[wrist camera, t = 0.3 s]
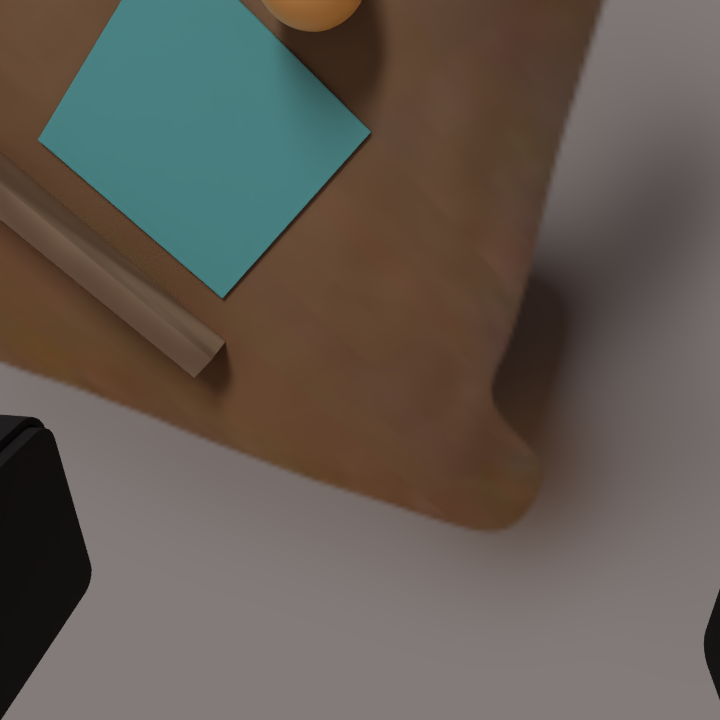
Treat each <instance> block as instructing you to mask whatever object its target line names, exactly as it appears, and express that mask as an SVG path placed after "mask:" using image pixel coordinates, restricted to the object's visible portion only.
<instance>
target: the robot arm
mask: <svg viewBox="0 0 720 720" xmlns="http://www.w3.org/2000/svg"><path fill="white" fill-rule="evenodd" d="M91 571H92V569H91V563H90V560H89V556H88V553H87V550H86V546H85V542H84V539H83V535H82V532H81V528H80V525H79V521H78V518H77V515H76V511H75V508H74V504H73V501H72V497H71V493H70V490H69V486H68V483H67V479H66V476H65V472H64V469H63V465H62V462H61V458H60V455H59V451H58V448H57V444H56V441H55V438H54V435H53V433H52V432H51V431H50V430H49V429H46V428H45V427H44V425H43V423H42V422H41V421H40V420H39V419H37V418H34V417H24V416H11V415H0V720H1V719H2V717H3V716H4V714H5V713H6V711H7V710H8V708H9V707H10V705H11V704H12V702H13V701H14V699H15V698H16V696H17V695H18V693H19V692H20V690H21V689H22V687H23V686H24V684H25V682H26V681H27V680H28V678H29V677H30V675H31V674H32V672H33V671H34V669H35V668H36V666H37V665H38V663H39V662H40V660H41V659H42V657H43V656H44V654H45V653H46V651H47V650H48V648H49V647H50V645H51V643H52V642H53V641H54V639H55V638H56V636H57V635H58V633H59V632H60V630H61V629H62V627H63V626H64V624H65V622H66V621H67V619H68V618H69V617H70V615H71V614H72V612H73V610H74V609H75V608H76V606H77V605H78V603H79V601H80V600H81V598H82V597H83V595H84V594H85V592H86V590H87V589H88V586H89V583H90V579H91ZM704 652H705V658H706V662H707V665H708V668H709V671H710V674H711V676H712V679H713V682H714V685H715V688H716V690H717V693H718V696H719V699H720V590H719V593H718V596H717V599H716V602H715V605H714V608H713V611H712V614H711V617H710V619H709V623H708V625H707V628H706V632H705V636H704Z"/></svg>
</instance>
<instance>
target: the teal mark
mask: <svg viewBox="0 0 720 720" xmlns="http://www.w3.org/2000/svg"><path fill="white" fill-rule="evenodd" d="M370 132H371V131H370V130H369V129H368V128H367V127H366V126H365V125H364V124H363V123H362V122H361V121H360V120H359V119H358V118H357V117H356V116H355V115H354V114H353V113H352V112H351V111H350V110H349V109H348V108H347V107H346V106H345V105H344V104H343V103H342V102H341V101H340V100H339V99H338V98H337V97H336V96H335V95H334V94H333V93H332V92H331V91H330V90H329V89H328V88H327V87H326V86H325V85H324V84H323V83H322V82H321V81H320V80H319V79H318V78H317V77H316V76H315V75H314V74H313V73H312V72H311V71H310V70H309V69H308V68H307V67H306V66H305V65H304V64H303V63H302V62H301V61H300V60H299V59H298V58H297V57H296V56H295V55H294V54H293V53H292V52H291V51H290V50H289V49H288V48H287V47H286V46H285V45H284V44H283V43H282V42H281V41H280V40H279V39H278V38H277V37H276V36H275V35H274V34H273V33H272V32H271V31H270V30H269V29H268V28H267V27H266V26H265V25H264V24H263V23H262V22H261V21H260V20H259V19H258V18H257V17H256V16H255V15H254V14H253V13H252V12H251V11H250V10H249V9H248V8H247V7H246V6H245V5H244V4H243V3H242V2H241V1H240V0H122V1H121V2H120V4H119V6H118V7H117V9H116V11H115V12H114V14H113V16H112V17H111V19H110V21H109V22H108V24H107V26H106V27H105V29H104V31H103V32H102V34H101V36H100V37H99V39H98V41H97V42H96V44H95V46H94V47H93V49H92V51H91V52H90V54H89V56H88V57H87V59H86V61H85V62H84V64H83V66H82V67H81V69H80V71H79V72H78V74H77V76H76V77H75V79H74V81H73V82H72V84H71V86H70V87H69V89H68V91H67V92H66V94H65V96H64V97H63V99H62V101H61V102H60V104H59V106H58V107H57V109H56V111H55V112H54V114H53V116H52V117H51V119H50V121H49V122H48V124H47V126H46V127H45V129H44V131H43V132H42V134H41V136H40V137H39V139H38V140H39V141H40V142H41V143H42V144H44V145H45V146H46V147H47V148H48V149H49V150H51V151H52V152H53V153H54V154H55V155H56V156H57V157H59V158H60V159H61V160H62V161H63V162H64V163H66V164H67V165H68V166H69V167H70V168H71V169H73V170H74V171H75V172H76V173H77V174H78V175H80V176H81V177H82V178H83V179H84V180H85V181H87V182H88V183H89V184H90V185H91V186H92V187H94V188H95V189H96V190H97V191H98V192H99V193H100V194H102V195H103V196H104V197H105V198H106V199H107V200H109V201H110V202H111V203H112V204H113V205H114V206H116V207H117V208H118V209H119V210H120V211H121V212H123V213H124V214H125V215H126V216H127V217H128V218H130V219H131V220H132V221H133V222H134V223H135V224H137V225H138V226H139V227H140V228H141V229H142V230H144V231H145V232H146V233H147V234H148V235H149V236H150V237H152V238H153V239H154V240H155V241H156V242H157V243H159V244H160V245H161V246H162V247H163V248H164V249H166V250H167V251H168V252H169V253H170V254H171V255H173V256H174V257H175V258H176V259H177V260H178V261H180V262H181V263H182V264H183V265H184V266H185V267H187V268H188V269H189V270H190V271H191V272H192V273H193V274H195V275H196V276H197V277H198V278H199V279H200V280H202V281H203V282H204V283H205V284H206V285H207V286H209V287H210V288H211V289H212V290H213V291H214V292H216V293H217V294H218V295H219V296H220V297H221V298H223V297H224V296H225V295H226V294H227V293H228V292H229V290H230V289H231V288H232V287H233V286H234V285H235V284H236V283H237V281H238V280H239V279H240V278H241V277H242V276H243V275H244V274H245V272H246V271H247V270H248V269H249V268H250V267H251V266H252V265H253V263H254V262H255V261H256V260H257V259H258V258H259V257H260V256H261V255H262V253H263V252H264V251H265V250H266V249H267V248H268V247H269V246H270V244H271V243H272V242H273V241H274V240H275V239H276V238H277V237H278V235H279V234H280V233H281V232H282V231H283V230H284V229H285V228H286V227H287V225H288V224H289V223H290V222H291V221H292V220H293V219H294V218H295V216H296V215H297V214H298V213H299V212H300V211H301V210H302V209H303V207H304V206H305V205H306V204H307V203H308V202H309V201H310V200H311V198H312V197H313V196H314V195H315V194H316V193H317V192H318V191H319V190H320V188H321V187H322V186H323V185H324V184H325V183H326V182H327V181H328V179H329V178H330V177H331V176H332V175H333V174H334V173H335V172H336V170H337V169H338V168H339V167H340V166H341V165H342V164H343V163H344V161H345V160H346V159H347V158H348V157H349V156H350V155H351V154H352V153H353V151H354V150H355V149H356V148H357V147H358V146H359V145H360V144H361V142H362V141H363V140H364V139H365V138H366V137H367V136H368V135H369V133H370Z"/></svg>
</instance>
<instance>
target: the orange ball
mask: <svg viewBox="0 0 720 720" xmlns="http://www.w3.org/2000/svg"><path fill="white" fill-rule="evenodd" d="M361 1H362V0H262V2H263V3H264V5H265V6H266V8H267V9H268V10H269V11H270V12H271V13H272V14H273V15H274V16H275V17H276V18H277V19H278V20H280V21H281V22H283V23H284V24H286V25H288V26H290V27H292V28H294V29H297V30H301V31H307V32H319V31H325V30H328V29H331V28H333V27H336V26H338V25H339V24H341V23H342V22H344V21H345V20H346V19H348V18H349V17H350V16H351V15H352V14H353V13H354V12H355V10H356V9H357V8H358V6H359V5H360V3H361Z"/></svg>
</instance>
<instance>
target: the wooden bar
mask: <svg viewBox="0 0 720 720" xmlns="http://www.w3.org/2000/svg"><path fill="white" fill-rule="evenodd" d="M0 220H1V221H3V222H4V223H5V224H6V225H7V226H9V227H10V228H11V229H12V230H14V231H15V232H16V233H17V234H18V235H20V236H21V237H22V238H23V239H25V240H26V241H27V242H28V243H30V244H31V245H32V246H33V247H34V248H36V249H37V250H38V251H39V252H41V253H42V254H43V255H44V256H45V257H47V258H48V259H49V260H50V261H52V262H53V263H54V264H55V265H57V266H58V267H59V268H60V269H61V270H63V271H64V272H65V273H66V274H68V275H69V276H70V277H71V278H72V279H74V280H75V281H76V282H77V283H79V284H80V285H81V286H82V287H83V288H85V289H86V290H87V291H88V292H90V293H91V294H92V295H93V296H95V297H96V298H97V299H98V300H99V301H101V302H102V303H103V304H104V305H106V306H107V307H108V308H109V309H110V310H112V311H113V312H114V313H115V314H117V315H118V316H119V317H120V318H121V319H123V320H124V321H125V322H126V323H128V324H129V325H130V326H131V327H133V328H134V329H135V330H136V331H137V332H139V333H140V334H141V335H142V336H144V337H145V338H146V339H147V340H148V341H150V342H151V343H152V344H153V345H155V346H156V347H157V348H158V349H159V350H161V351H162V352H163V353H164V354H166V355H167V356H168V357H169V358H171V359H172V360H173V361H174V362H175V363H177V364H178V365H179V366H180V367H182V368H183V369H184V370H185V371H186V372H188V373H189V374H190V375H191V376H193V377H194V378H195V377H196V376H197V375H198V374H199V373H200V371H201V370H202V369H203V368H204V367H205V366H206V365H207V364H208V363H209V362H210V361H211V360H212V359H213V357H214V356H215V355H216V353H217V352H218V351H219V349H220V348H221V347H222V345H223V344H224V343H225V341H224V340H223V339H221V338H220V337H219V336H218V335H217V334H216V333H214V332H213V331H212V330H211V329H210V328H208V327H207V326H206V325H205V324H204V323H202V322H201V321H200V320H199V319H198V318H197V317H195V316H194V315H193V314H192V313H191V312H189V311H188V310H187V309H186V308H185V307H183V306H182V305H181V304H180V303H179V302H178V301H176V300H175V299H174V298H173V297H172V296H170V295H169V294H168V293H167V292H166V291H164V290H163V289H162V288H161V287H160V286H159V285H157V284H156V283H155V282H154V281H153V280H151V279H150V278H149V277H148V276H147V275H145V274H144V273H143V272H142V271H141V270H140V269H138V268H137V267H136V266H135V265H134V264H132V263H131V262H130V261H129V260H128V259H126V258H125V257H124V256H123V255H122V254H121V253H119V252H118V251H117V250H116V249H115V248H113V247H112V246H111V245H110V244H109V243H107V242H106V241H105V240H104V239H103V238H102V237H100V236H99V235H98V234H97V233H96V232H94V231H93V230H92V229H91V228H90V227H88V226H87V225H86V224H85V223H84V222H83V221H81V220H80V219H79V218H78V217H77V216H75V215H74V214H73V213H72V212H71V211H69V210H68V209H67V208H66V207H65V206H64V205H62V204H61V203H60V202H59V201H58V200H56V199H55V198H54V197H53V196H52V195H50V194H49V193H48V192H47V191H46V190H45V189H43V188H42V187H41V186H40V185H39V184H37V183H36V182H35V181H34V180H33V179H32V178H30V177H29V176H28V175H27V174H26V173H24V172H23V171H22V170H21V169H20V168H18V167H17V166H16V165H15V164H14V163H13V162H11V161H10V160H9V159H8V158H7V157H5V156H4V155H3V154H2V153H1V152H0Z"/></svg>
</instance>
